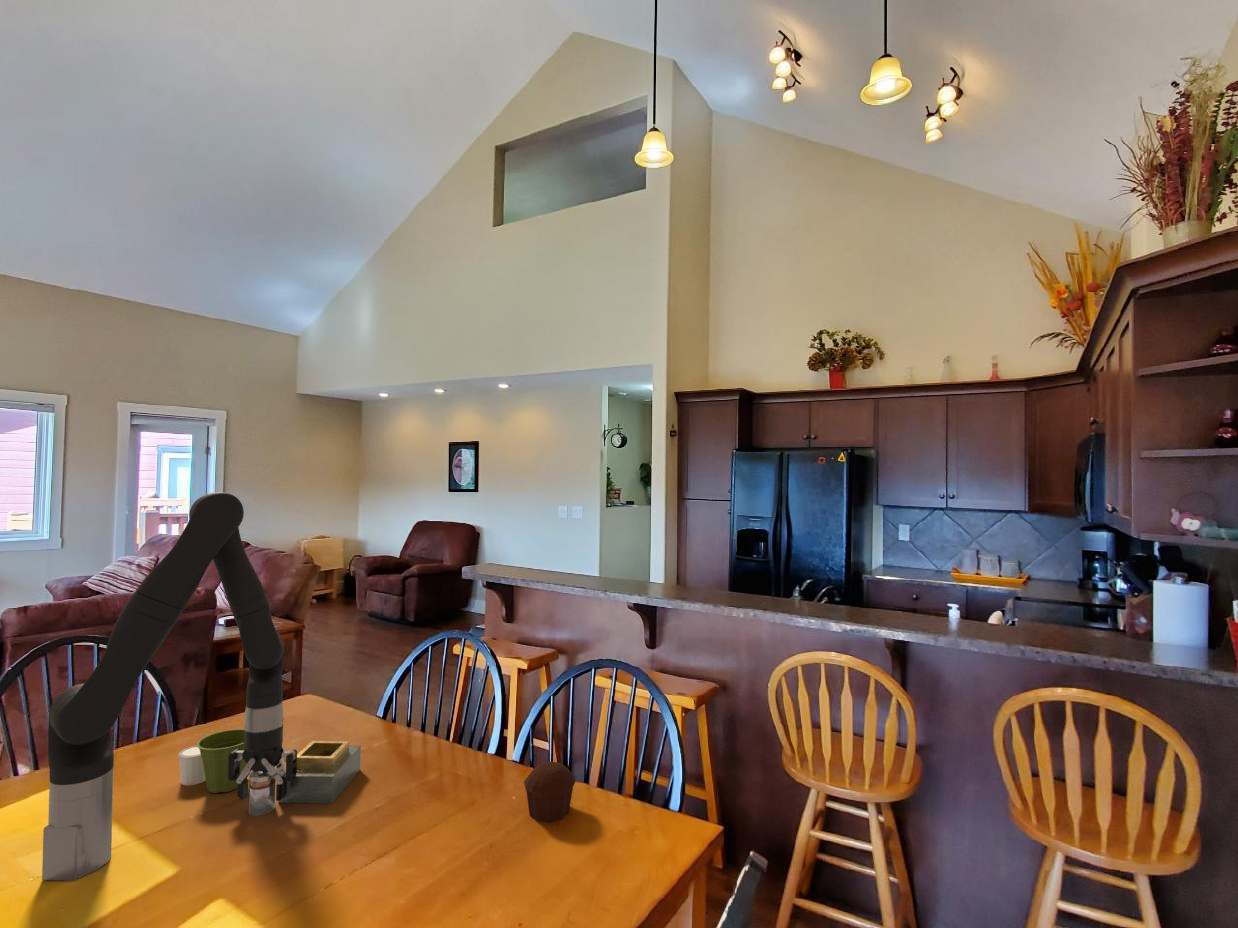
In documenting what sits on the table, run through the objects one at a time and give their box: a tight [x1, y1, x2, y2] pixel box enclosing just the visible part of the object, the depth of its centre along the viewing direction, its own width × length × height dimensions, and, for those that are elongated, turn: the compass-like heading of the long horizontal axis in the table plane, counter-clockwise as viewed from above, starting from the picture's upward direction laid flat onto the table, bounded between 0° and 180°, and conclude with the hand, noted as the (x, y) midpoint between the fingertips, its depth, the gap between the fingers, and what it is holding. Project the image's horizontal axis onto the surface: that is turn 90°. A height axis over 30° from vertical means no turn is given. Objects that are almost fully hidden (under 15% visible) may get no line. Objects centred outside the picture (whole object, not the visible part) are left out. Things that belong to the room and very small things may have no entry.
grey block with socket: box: [277, 740, 362, 804], centre depth 151 cm, size 16×12×8 cm
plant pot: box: [196, 728, 247, 794], centre depth 149 cm, size 12×12×11 cm
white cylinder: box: [178, 745, 206, 786], centre depth 152 cm, size 7×7×7 cm
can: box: [248, 771, 277, 817], centre depth 139 cm, size 5×5×9 cm
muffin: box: [523, 761, 576, 823], centre depth 141 cm, size 12×11×10 cm
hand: (262, 798), depth 139 cm, fingers open, 7 cm apart
